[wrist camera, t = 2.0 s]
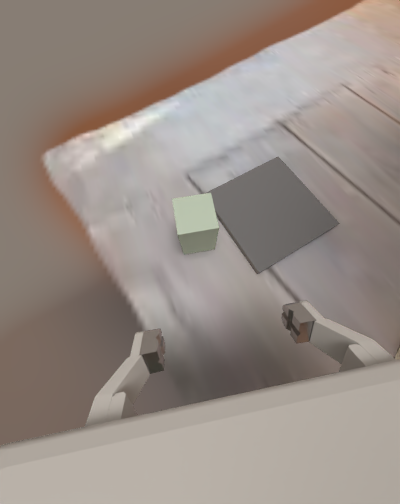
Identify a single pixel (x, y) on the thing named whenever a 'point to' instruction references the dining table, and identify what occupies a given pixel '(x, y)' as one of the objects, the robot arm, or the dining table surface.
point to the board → (270, 213)
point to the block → (196, 223)
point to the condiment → (398, 354)
